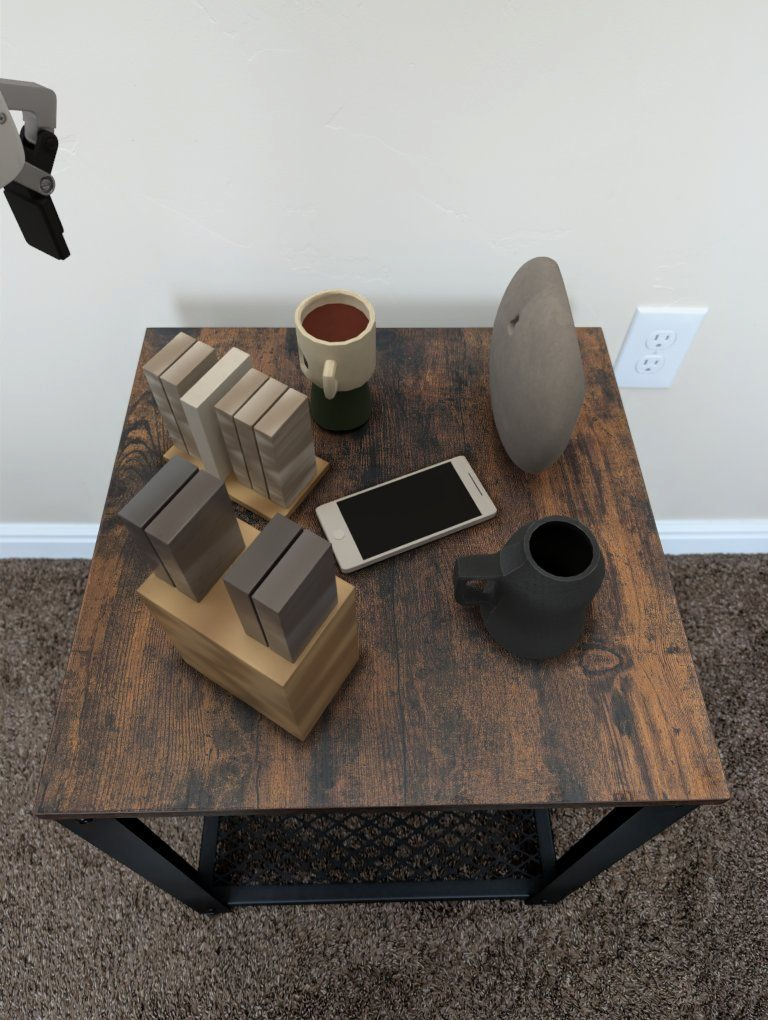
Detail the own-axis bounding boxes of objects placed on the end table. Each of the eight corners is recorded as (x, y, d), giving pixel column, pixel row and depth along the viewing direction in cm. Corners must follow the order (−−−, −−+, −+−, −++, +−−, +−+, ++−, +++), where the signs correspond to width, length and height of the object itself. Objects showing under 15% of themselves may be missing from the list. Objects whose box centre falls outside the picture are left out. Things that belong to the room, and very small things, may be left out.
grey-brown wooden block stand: (165, 461, 69) (128, 378, 58) (217, 408, 72) (191, 320, 62) (280, 528, 65) (262, 451, 55) (329, 468, 68) (321, 385, 58)
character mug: (315, 369, 75) (304, 270, 64) (381, 374, 75) (382, 276, 64) (298, 451, 69) (283, 358, 58) (369, 457, 69) (368, 365, 58)
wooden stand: (185, 662, 58) (94, 530, 39) (245, 588, 62) (188, 434, 43) (303, 741, 55) (265, 639, 36) (359, 658, 58) (351, 525, 40)
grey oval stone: (567, 510, 66) (629, 373, 50) (493, 513, 66) (531, 376, 50) (535, 364, 76) (577, 210, 60) (469, 366, 76) (495, 212, 60)
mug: (575, 560, 63) (611, 493, 54) (594, 658, 59) (637, 603, 49) (443, 563, 63) (455, 496, 53) (451, 661, 58) (465, 607, 49)
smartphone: (315, 512, 66) (314, 506, 65) (462, 459, 69) (463, 453, 68) (343, 575, 62) (343, 570, 61) (497, 516, 66) (498, 511, 65)
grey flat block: (207, 475, 67) (179, 399, 57) (252, 426, 70) (233, 346, 60) (221, 483, 66) (196, 408, 57) (267, 433, 69) (250, 354, 60)
